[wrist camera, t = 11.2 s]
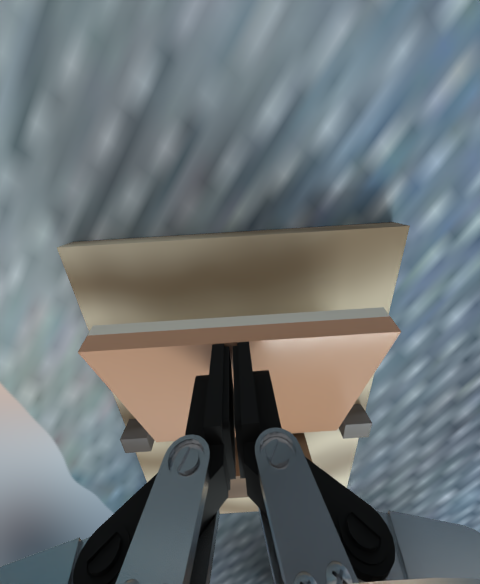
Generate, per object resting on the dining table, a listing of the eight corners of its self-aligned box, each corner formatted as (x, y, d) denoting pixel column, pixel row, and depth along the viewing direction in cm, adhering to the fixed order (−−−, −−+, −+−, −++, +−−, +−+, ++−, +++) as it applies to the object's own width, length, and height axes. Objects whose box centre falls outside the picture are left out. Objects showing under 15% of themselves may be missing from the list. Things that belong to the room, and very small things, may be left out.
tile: (159, 445, 18) (163, 424, 20) (334, 433, 19) (328, 414, 20) (78, 352, 10) (92, 325, 11) (401, 331, 10) (383, 307, 11)
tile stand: (73, 241, 14) (10, 263, 10) (393, 222, 15) (456, 236, 10) (164, 500, 27) (152, 557, 23) (336, 489, 27) (355, 543, 23)
